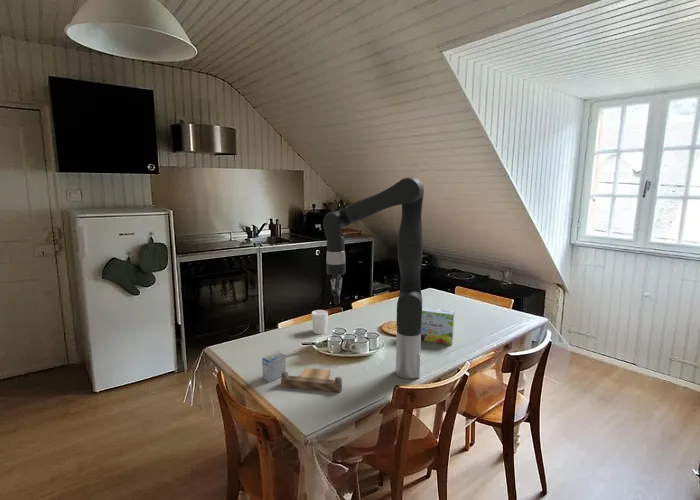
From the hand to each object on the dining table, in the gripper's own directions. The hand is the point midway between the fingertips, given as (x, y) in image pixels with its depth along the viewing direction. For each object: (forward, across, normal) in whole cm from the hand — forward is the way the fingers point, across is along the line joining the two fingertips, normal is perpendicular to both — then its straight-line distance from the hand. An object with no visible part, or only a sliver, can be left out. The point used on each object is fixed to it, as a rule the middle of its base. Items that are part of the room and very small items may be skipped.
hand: (336, 303), depth 164 cm
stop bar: (+25, -23, +6) cm, 34 cm away
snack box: (+26, +28, -38) cm, 54 cm away
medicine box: (+25, -17, +22) cm, 37 cm away
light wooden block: (+25, -17, +6) cm, 31 cm away
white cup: (+25, +30, +15) cm, 41 cm away
